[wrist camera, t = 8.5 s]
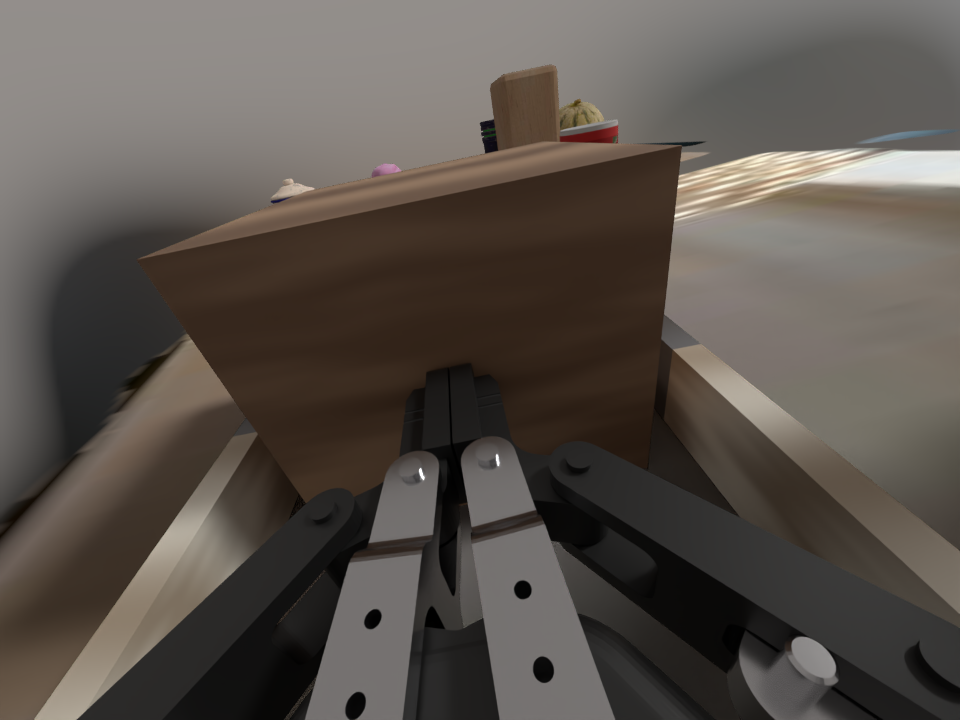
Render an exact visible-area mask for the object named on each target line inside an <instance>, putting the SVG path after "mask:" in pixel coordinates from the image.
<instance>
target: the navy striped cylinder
mask: <svg viewBox="0 0 960 720" xmlns="http://www.w3.org/2000/svg"><path fill="white" fill-rule="evenodd" d="M480 126H481V131H483V132H482V133H481V135H482V136H484V137H483V138H482V141H483V143H484V148H485V154H486V153H490V152H495V151H498V145H497V137H496V130H495V122H494V120H489V121H485V122H481V123H480Z"/></svg>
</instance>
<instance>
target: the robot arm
mask: <svg viewBox="0 0 960 720" xmlns="http://www.w3.org/2000/svg"><path fill="white" fill-rule="evenodd" d="M449 369H450V370H449ZM463 503H468V508H469V514H470V520H471V526H472V533H471V542H472V549H473V555H474V561H475V568H476V574H477V580H478V586H479V593H480V599H481V605H482V611H483V619H481V620H479V621H477V622H475V623H473V624H471V625H469V626H467V627H465V628H463V620H462V615H461V607H460V581H461V536H462V531H461V525H460V512H459V504H463ZM551 541H557V542H560V544H561V545H562V547H563V548H564V549H565V550H566V551H568V552H569V553H570V554H571V555H573V556H574V557H575V558H577V559H578V560H579V561H581V562H582V563H583V564H584V565H586V566H587V567H588V568H590V569H591V570H592V571H594V572H595V573H596V574H598V575H599V576H600V577H601V578H603V579H604V580H605V581H607V582H608V583H609V584H611V585H612V586H613V587H614V588H616V589H617V590H618V591H620V592H621V593H622V594H624V595H625V596H626V597H628V598H629V599H630V600H631V601H633V602H634V603H635V604H637V605H638V606H639V607H641V608H642V609H643V610H645V611H646V612H647V613H648V614H650V615H651V616H652V617H654V618H655V619H656V620H658V621H659V622H660V623H661V624H663V625H664V626H665V627H667V628H668V629H669V630H671V631H672V632H673V633H675V634H676V635H677V636H678V637H680V638H681V639H682V640H684V641H685V642H686V643H688V644H689V645H690V646H691V647H693V648H694V649H695V650H697V651H698V652H699V653H701V654H702V655H703V656H705V657H706V658H707V659H708V660H710V661H711V662H712V663H714V664H715V665H716V666H718V667H719V668H720V669H721V670H723V671H724V672H725V673H727V685H728V691H729V695H730V698H731V700H732V703H733V705H734V707H735V709H736V711H737V713H738V715H739V717H740V718H741V720H960V628H959V627H957V626H955V625H954V624H952V623H950V622H948V621H946V620H944V619H942V618H940V617H938V616H936V615H934V614H932V613H930V612H928V611H926V610H924V609H922V608H920V607H918V606H916V605H914V604H912V603H910V602H908V601H906V600H904V599H902V598H900V597H898V596H896V595H894V594H892V593H890V592H888V591H886V590H884V589H882V588H880V587H878V586H876V585H874V584H872V583H870V582H868V581H866V580H864V579H862V578H860V577H858V576H856V575H854V574H852V573H850V572H848V571H846V570H844V569H842V568H840V567H838V566H836V565H834V564H832V563H830V562H828V561H826V560H824V559H822V558H820V557H818V556H816V555H814V554H812V553H810V552H808V551H806V550H804V549H802V548H800V547H798V546H796V545H794V544H792V543H790V542H788V541H786V540H784V539H782V538H780V537H778V536H776V535H774V534H772V533H770V532H768V531H766V530H764V529H762V528H760V527H758V526H756V525H754V524H752V523H750V522H748V521H746V520H744V519H742V518H740V517H738V516H736V515H734V514H732V513H730V512H728V511H726V510H724V509H722V508H720V507H718V506H716V505H714V504H712V503H710V502H708V501H706V500H704V499H702V498H700V497H698V496H696V495H694V494H692V493H690V492H688V491H686V490H684V489H682V488H680V487H678V486H676V485H674V484H672V483H670V482H668V481H666V480H664V479H662V478H660V477H658V476H656V475H654V474H652V473H650V472H648V471H646V470H644V469H642V468H640V467H638V466H636V465H634V464H632V463H630V462H628V461H626V460H624V459H622V458H620V457H618V456H616V455H614V454H612V453H610V452H608V451H606V450H604V449H602V448H600V447H598V446H596V445H593V444H591V443H588V442H582V441H574V442H568V443H565V444H562V445H560V446H559V447H557V448H556V449H555V450H554V451H553V452H552V454H551V455H540V454H533V453H529V452H526V451H524V450H522V449H520V448H519V447H518V446H516V445H515V443H514V442H513V440H512V438H511V435H510V431H509V427H508V423H507V419H506V414H505V410H504V406H503V402H502V398H501V394H500V389H499V385H498V382H497V381H496V380H495V379H494V378H493V377H492V376H491V375H490V374H488V375H483V376H478V377H474V373H473V369H472V365H471V363H467V364H462V365H457V366H452V367H450V368H443V369H438V370H433V371H428V372H426V385H425V387H424V388H419V389H414V390H413V391H412V393H411V394H410V396H409V397H408V399H407V400H406V406H405V414H404V424H403V430H402V438H401V446H400V454H399V458H398V459H397V460H395V461H394V462H393V463H392V464H391V466H390V467H389V469H388V470H387V473H386V476H385V480H384V481H383V482H382V483H381V484H379V485H377V486H376V487H374V488H372V489H370V490H367V491H365V492H363V493H361V494H359V495H357V496H355V497H354V496H353V495H352V493H351V492H350V491H348V490H346V489H343V488H333V489H329V490H326V491H324V492H321V493H320V494H318V495H316V496H315V497H313V498H312V499H311V500H310V501H308V502H307V503H306V504H305V505H304V506H303V507H302V508H301V509H300V510H299V511H298V512H297V513H296V514H295V515H294V516H292V517H291V518H290V519H289V520H288V521H287V522H286V523H285V524H284V525H283V526H282V527H281V528H280V529H279V530H278V531H277V532H275V533H274V534H273V535H272V536H271V537H270V538H269V539H268V540H267V541H266V542H265V543H264V544H263V545H262V546H261V547H259V548H258V549H257V550H256V551H255V552H254V553H253V554H252V555H251V556H250V557H249V558H248V559H247V560H246V561H245V562H244V563H242V564H241V565H240V566H239V567H238V568H237V569H236V570H235V571H234V572H233V573H232V574H231V575H230V576H229V577H228V578H227V579H225V580H224V581H223V582H222V583H221V584H220V585H219V586H218V587H217V588H216V589H215V590H214V591H213V592H212V593H211V594H210V595H208V596H207V597H206V598H205V599H204V600H203V601H202V602H201V603H200V604H199V605H198V606H197V607H196V608H195V609H194V610H193V611H191V612H190V613H189V614H188V615H187V616H186V617H185V618H184V619H183V620H182V621H181V622H180V623H179V624H178V625H177V626H176V627H174V628H173V629H172V630H171V631H170V632H169V633H168V634H167V635H166V636H165V637H164V638H163V639H162V640H161V641H160V642H159V643H157V644H156V645H155V646H154V647H153V648H152V649H151V650H150V651H149V652H148V653H147V654H146V655H145V656H144V657H143V658H142V659H140V660H139V661H138V662H137V663H136V664H135V665H134V666H133V667H132V668H131V669H130V670H129V671H128V672H127V673H126V674H124V675H123V676H122V677H121V678H120V679H119V680H118V681H117V682H116V683H115V684H114V685H113V686H112V687H111V688H110V689H109V690H107V691H106V692H105V693H104V694H103V695H102V696H101V697H100V698H99V699H98V700H97V701H96V702H95V703H94V704H93V705H92V706H90V707H89V708H88V709H87V710H86V711H85V712H84V713H83V714H82V715H81V716H80V717H79V718H78V719H77V720H284V718H285V717H286V716H287V714H288V713H289V712H290V710H291V709H292V708H293V706H294V705H295V704H296V702H297V701H298V700H299V698H300V697H301V696H302V694H303V693H304V692H305V690H306V689H307V688H308V686H309V685H310V684H311V682H312V681H313V680H314V678H315V677H316V675H317V674H318V675H317V679H316V682H315V686H314V688H313V689H312V690H311V692H310V693H309V694H308V695H307V696H306V697H305V699H304V700H303V701H302V703H301V704H300V705H299V707H298V708H297V710H296V711H295V712H294V714H293V715H292V717H291V718H290V720H715V719H714V718H713V717H712V716H711V715H710V714H709V713H708V712H706V711H705V710H704V709H703V708H702V707H701V706H700V705H699V704H698V703H696V702H695V701H694V700H693V699H692V698H691V697H690V696H689V695H688V694H686V693H685V692H684V691H683V690H682V689H681V688H680V687H679V686H678V685H676V684H675V683H674V682H673V681H672V680H671V679H670V678H669V677H668V676H666V675H665V674H664V673H663V672H662V671H661V670H660V669H659V668H658V667H656V666H655V665H654V664H653V663H652V662H651V661H650V660H649V659H648V658H647V657H645V656H644V655H643V654H642V653H641V652H640V651H639V650H638V649H637V648H635V647H634V646H633V645H632V644H631V643H630V642H629V641H627V640H626V639H625V638H624V637H623V636H621V635H620V634H618V633H617V632H615V631H614V630H613V629H611V628H610V627H608V626H606V625H604V624H602V623H601V622H599V621H597V620H594V619H592V618H590V617H587V616H585V615H581V614H577V612H576V610H575V607H574V604H573V601H572V598H571V596H570V593H569V590H568V587H567V585H566V582H565V579H564V576H563V574H562V571H561V568H560V565H559V562H558V560H557V557H556V554H555V551H554V549H553V546H552V543H551ZM323 570H325V571H326V572H325V573H324V574H323V575H322V576H321V577H320V579H319V580H318V581H317V582H316V583H315V584H314V585H313V586H312V588H311V589H310V590H309V591H308V592H307V593H306V594H305V596H304V597H303V598H302V599H301V600H300V601H299V602H298V604H297V605H296V606H295V607H294V608H293V609H292V610H291V611H290V613H289V614H288V615H287V616H286V617H285V618H284V619H283V620H282V621H281V622H280V623H279V624H278V625H277V623H278V621H279V620H280V619H281V618H282V616H283V615H284V614H285V613H286V612H287V611H288V610H289V609H290V607H291V606H292V605H293V604H294V603H295V602H296V601H297V600H298V598H299V597H300V596H301V595H302V594H303V593H304V592H305V591H306V589H307V588H308V587H309V586H310V585H311V584H312V583H313V582H314V580H315V579H316V578H317V577H318V576H319V575H320V574H321V573H322V571H323Z"/></svg>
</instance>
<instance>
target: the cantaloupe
mask: <svg viewBox="0 0 960 720" xmlns="http://www.w3.org/2000/svg"><path fill="white" fill-rule="evenodd" d="M559 118H560V131H561V130H564V129H568V128H572V127H577V126H582V125H587V124H592V123H597V122H603V121H604V118H603V116H602V115H601V113H600V111H599V110H598V109H597V108H596V107H595V106H594V105H593V104H590V103H587V102H581V100H580V99H578V100H576V101H575V102H574V103H571V104H567V105H566V106H564V107H562V108H561V109H559Z"/></svg>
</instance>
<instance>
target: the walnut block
mask: <svg viewBox="0 0 960 720" xmlns="http://www.w3.org/2000/svg"><path fill="white" fill-rule="evenodd" d="M681 149H682V145H648V144H613V143H579V142H545V141H543V142H538V143H533V144H529V145H524V146H519V147H514V148H510V149H505V150H500V151H495V152H490V153H486V154H481V155H477V156H471V157H467V158H462V159H457V160H453V161H448V162H443V163H438V164H434V165H429V166H424V167H419V168H414V169H410V170H405V171H400V172H395V173H391V174H386V175H381V176H376V177H372V178H367V179H362V180H358V181H353V182H348V183H344V184H339V185H333V186H329V187H324V188H319V189H314V190H310V191H306V192H303V193H301V194H298V195H296V196H293V197H291V198H288V199H286V200H283V201H281V202H279V203H276V204H274V205H271V206H269V207H266V208H264V209H261V210H259V211H256V212H254V213H251V214H249V215H247V216H244V217H241V218H239V219H236V220H234V221H231V222H229V223H226V224H224V225H222V226H219V227H216V228H214V229H211V230H209V231H206V232H204V233H202V234H199V235H196V236H194V237H191V238H189V239H187V240H184V241H182V242H179V243H177V244H174V245H172V246H169V247H167V248H164V249H162V250H159V251H157V252H154V253H152V254H149V255H147V256H144V257H142V258H139V259H137V261H138V263H139V264H140V266H141V267H142V269H143V270H144V271H145V273H146V274H147V276H148V277H149V278H150V280H151V281H152V283H153V284H154V286H155V287H156V288H157V290H158V291H159V293H160V294H161V296H162V297H163V299H164V300H165V302H166V303H167V304H168V306H169V307H170V309H171V310H172V312H173V313H174V315H175V316H176V317H177V319H178V320H179V322H180V323H181V325H182V326H183V327H184V329H185V330H186V332H187V333H188V335H189V336H190V338H191V339H192V340H193V342H194V343H195V345H196V346H197V348H198V349H199V350H200V352H201V353H202V355H203V356H204V358H205V359H206V360H207V362H208V363H209V365H210V366H211V368H212V369H213V371H214V372H215V373H216V375H217V376H218V378H219V379H220V381H221V382H222V383H223V385H224V386H225V388H226V389H227V391H228V392H229V394H230V395H231V396H232V398H233V399H234V401H235V402H236V404H237V405H238V406H239V408H240V409H241V411H242V412H243V414H244V415H245V417H246V418H247V419H248V421H249V422H250V424H251V425H252V427H253V428H254V429H255V431H256V432H257V434H258V435H259V437H260V438H261V440H262V441H263V442H264V444H265V445H266V447H267V448H268V450H269V451H270V452H271V454H272V455H273V457H274V458H275V460H276V461H277V463H278V464H279V465H280V467H281V468H282V470H283V471H284V473H285V474H286V475H287V477H288V478H289V480H290V481H291V483H292V484H293V486H294V487H295V488H296V490H297V491H298V493H299V494H300V496H301V497H302V498H303V500H304V501H305V503H307V502H308V501H310V500H311V499H312V498H313V497H315V496H316V495H318V494H320V493H321V492H324V491H326V490H329V489H333V488H343V489H346V490H348V491H350V492H351V493H352V495H353V496H354V497H355V496H357V495H359V494H361V493H363V492H365V491H367V490H370V489H372V488H374V487H376V486H377V485H379V484H381V483H382V482H383V481H384V480H385V476H386V473H387V470H388V469H389V467H390V466H391V464H392V463H393V462H394V461H395V460H397V459H398V458H399V454H400V446H401V438H402V430H403V424H404V414H405V406H406V400H407V399H408V397H409V396H410V394H411V393H412V391H413V390H414V389H419V388H424V387H425V385H426V372H428V371H433V370H438V369H443V368H450V367H452V366H457V365H462V364H467V363H471V365H472V369H473V373H474V377H478V376H483V375H488V374H490V375H491V376H492V377H493V378H494V379H495V380H496V381H497V382H498V385H499V389H500V394H501V398H502V402H503V406H504V410H505V414H506V419H507V423H508V427H509V431H510V435H511V438H512V440H513V442H514V443H515V445H516V446H518V447H519V448H520V449H522V450H524V451H526V452H529V453H533V454H540V455H551V454H552V452H553V451H554V450H555V449H556V448H557V447H559V446H560V445H562V444H565V443H568V442H574V441H582V442H588V443H591V444H593V445H596V446H598V447H600V448H602V449H604V450H606V451H608V452H610V453H612V454H614V455H616V456H618V457H620V458H622V459H624V460H626V461H628V462H630V463H632V464H634V465H636V466H638V467H640V468H642V469H645V468H648V459H649V450H650V440H651V431H652V422H653V412H654V403H655V393H656V384H657V375H658V365H659V356H660V346H661V337H662V328H663V318H664V309H665V299H666V290H667V281H668V271H669V262H670V252H671V243H672V234H673V224H674V215H675V205H676V196H677V187H678V177H679V167H680V158H681ZM449 370H450V369H449ZM466 504H468V503H463V504H459V506H461V505H466Z"/></svg>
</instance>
